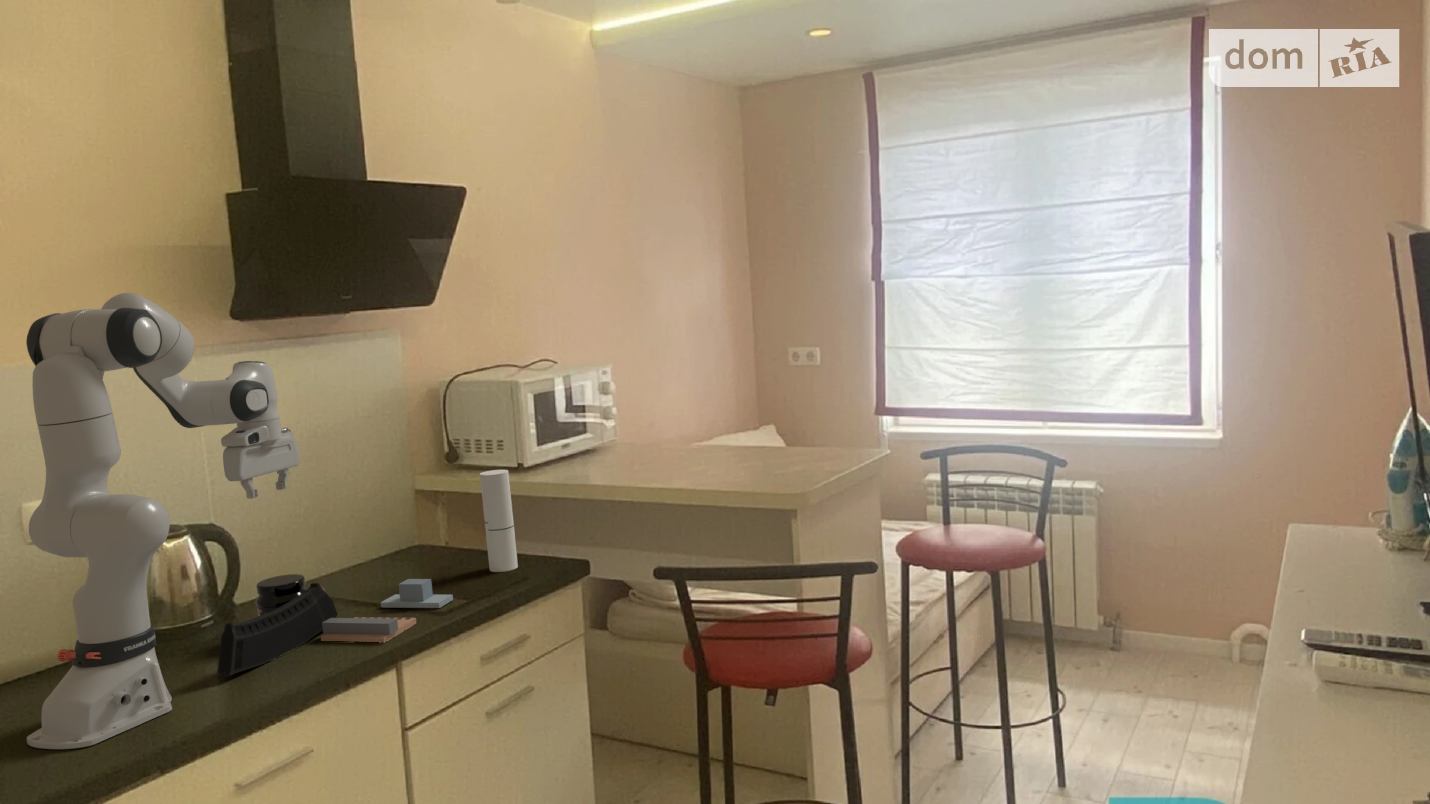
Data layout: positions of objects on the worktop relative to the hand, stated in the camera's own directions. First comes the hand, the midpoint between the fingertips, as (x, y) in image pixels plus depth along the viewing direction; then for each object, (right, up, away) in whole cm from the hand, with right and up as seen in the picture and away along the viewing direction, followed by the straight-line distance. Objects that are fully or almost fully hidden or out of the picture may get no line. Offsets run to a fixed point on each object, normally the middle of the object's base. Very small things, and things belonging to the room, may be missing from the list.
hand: (267, 493), depth 223 cm
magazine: (+13, -31, -22) cm, 40 cm away
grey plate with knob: (+33, -26, +4) cm, 42 cm away
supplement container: (+9, -30, -10) cm, 33 cm away
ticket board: (+28, -28, -13) cm, 42 cm away
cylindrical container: (+47, -22, +31) cm, 60 cm away
